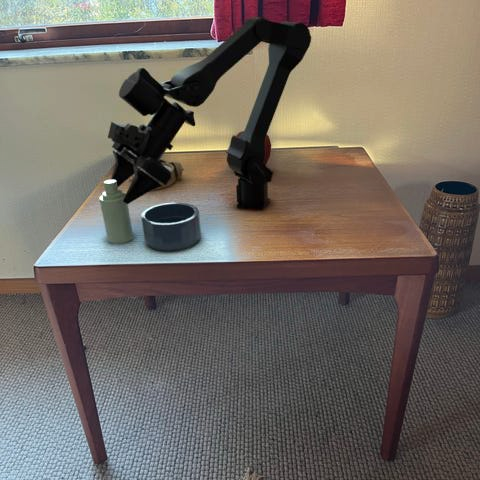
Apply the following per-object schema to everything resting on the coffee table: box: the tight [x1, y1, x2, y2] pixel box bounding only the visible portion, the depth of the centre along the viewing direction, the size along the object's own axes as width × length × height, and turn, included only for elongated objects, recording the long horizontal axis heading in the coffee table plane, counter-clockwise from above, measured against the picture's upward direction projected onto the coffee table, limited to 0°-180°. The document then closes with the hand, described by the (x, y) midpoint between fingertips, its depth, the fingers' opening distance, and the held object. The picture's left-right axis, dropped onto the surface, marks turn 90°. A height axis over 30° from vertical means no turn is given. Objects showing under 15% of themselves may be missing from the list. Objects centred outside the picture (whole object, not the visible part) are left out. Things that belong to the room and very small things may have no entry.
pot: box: [140, 202, 202, 252], centre depth 105 cm, size 12×12×6 cm
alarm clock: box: [128, 158, 185, 191], centre depth 137 cm, size 11×5×15 cm
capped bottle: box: [98, 179, 134, 245], centre depth 105 cm, size 5×5×12 cm
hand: (117, 196), depth 104 cm, fingers open, 9 cm apart
